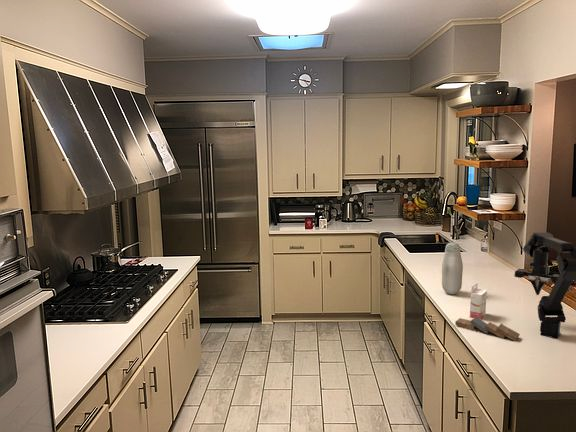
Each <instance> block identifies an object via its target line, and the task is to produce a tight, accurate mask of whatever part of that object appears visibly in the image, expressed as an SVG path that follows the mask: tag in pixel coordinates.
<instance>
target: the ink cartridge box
mask: <svg viewBox="0 0 576 432" xmlns="http://www.w3.org/2000/svg"><path fill="white" fill-rule="evenodd" d="M478 284H479V283H478V282H476V283H475V284H473V285H472V286H471V290H470V302H469V303H470V304H469V318H472V319H475V318H479V319H482V318H483V317H484V316H485V315H486V310H487V309H486V308H487V298H488V297H487V295H488V293H487V292H488V290H486V289H482V288H481V289H480V288H478Z"/></svg>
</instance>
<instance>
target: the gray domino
mask: <svg viewBox="0 0 576 432" xmlns="http://www.w3.org/2000/svg"><path fill="white" fill-rule="evenodd" d="M470 321H471V322H470V323H471V324H473V325H474V326H476V327H477V328H479V330H480V331H482V332H483V333H485V335H486V334H489V333H491V332H490V331H488V330H486V329H485V326H486V325H487V324H488V323H487V322H485V321H484V320H482V318H480V319H479V318H472V319H470Z"/></svg>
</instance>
